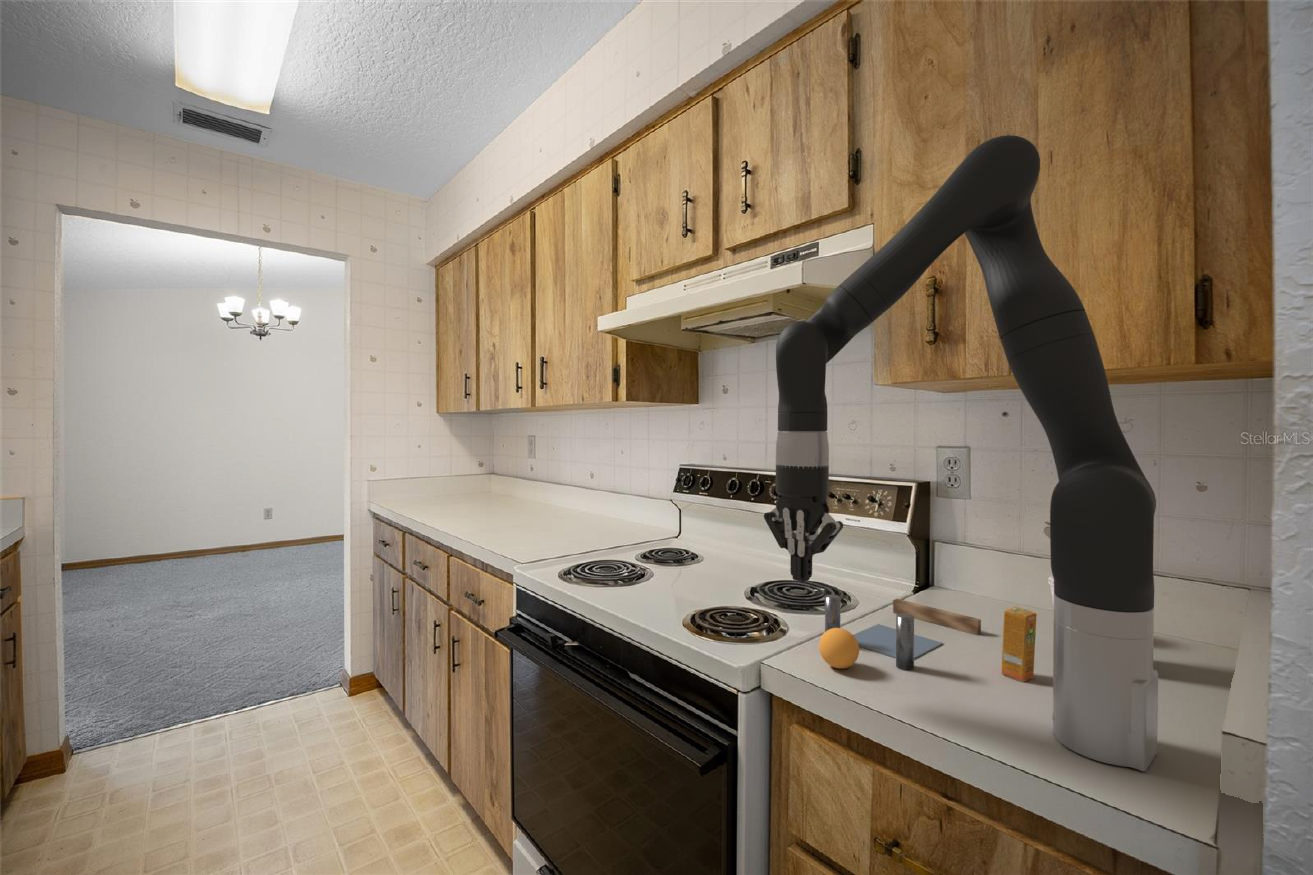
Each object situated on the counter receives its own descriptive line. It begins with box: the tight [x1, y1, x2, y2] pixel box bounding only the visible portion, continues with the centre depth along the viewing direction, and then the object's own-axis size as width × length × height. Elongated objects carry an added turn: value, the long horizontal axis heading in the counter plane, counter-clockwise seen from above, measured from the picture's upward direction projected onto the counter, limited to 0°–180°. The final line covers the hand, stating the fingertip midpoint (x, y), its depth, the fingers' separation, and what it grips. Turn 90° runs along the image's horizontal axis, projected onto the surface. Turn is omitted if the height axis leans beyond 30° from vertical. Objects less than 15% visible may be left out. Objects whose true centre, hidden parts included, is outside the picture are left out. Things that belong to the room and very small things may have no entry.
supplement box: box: [1001, 606, 1038, 683], centre depth 85 cm, size 3×3×10 cm
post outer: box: [824, 594, 841, 633], centre depth 98 cm, size 3×3×8 cm
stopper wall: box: [892, 598, 982, 636], centre depth 108 cm, size 16×2×2 cm, turn 38°
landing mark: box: [852, 623, 944, 660], centre depth 98 cm, size 12×12×1 cm
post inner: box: [895, 613, 915, 671], centre depth 88 cm, size 3×3×8 cm
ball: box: [818, 627, 860, 670], centre depth 88 cm, size 6×6×6 cm
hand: (800, 580), depth 82 cm, fingers closed
